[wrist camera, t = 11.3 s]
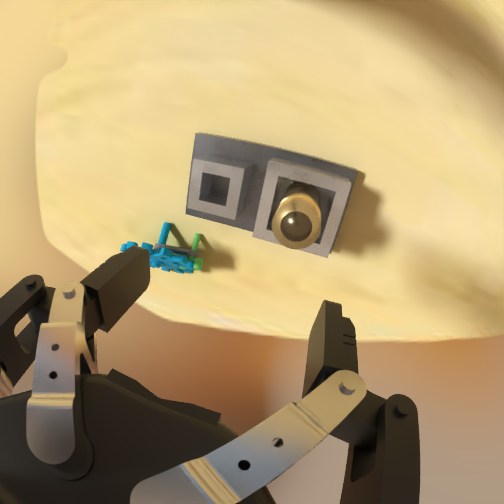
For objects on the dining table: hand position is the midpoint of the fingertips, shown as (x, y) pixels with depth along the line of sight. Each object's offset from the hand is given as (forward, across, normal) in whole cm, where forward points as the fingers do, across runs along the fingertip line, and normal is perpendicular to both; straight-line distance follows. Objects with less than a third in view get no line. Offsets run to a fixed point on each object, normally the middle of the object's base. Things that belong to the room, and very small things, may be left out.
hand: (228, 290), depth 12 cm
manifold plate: (+21, +2, +1) cm, 21 cm away
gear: (+21, +13, +12) cm, 27 cm away
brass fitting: (+20, -2, +1) cm, 20 cm away
